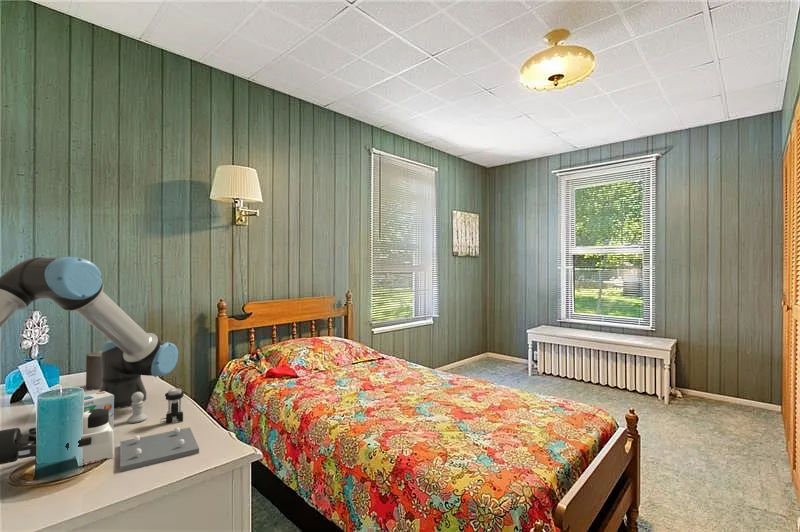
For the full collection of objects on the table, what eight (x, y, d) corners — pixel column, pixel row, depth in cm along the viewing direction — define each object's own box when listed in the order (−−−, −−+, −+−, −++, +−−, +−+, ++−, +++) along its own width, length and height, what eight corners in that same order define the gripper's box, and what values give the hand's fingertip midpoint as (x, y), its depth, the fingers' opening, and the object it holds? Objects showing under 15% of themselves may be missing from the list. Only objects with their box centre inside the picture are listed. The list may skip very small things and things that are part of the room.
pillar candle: (79, 388, 162) (80, 351, 162) (103, 382, 171) (104, 347, 171) (97, 391, 159) (97, 353, 159) (121, 384, 168) (121, 348, 168)
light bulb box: (71, 443, 111) (71, 404, 111) (61, 437, 115) (62, 400, 115) (115, 429, 120) (115, 394, 120) (104, 425, 124) (104, 390, 124)
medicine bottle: (108, 449, 108) (108, 404, 108) (113, 458, 102) (113, 411, 102) (74, 458, 102) (74, 411, 103) (78, 467, 97) (78, 418, 97)
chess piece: (135, 417, 131) (135, 389, 131) (151, 417, 130) (151, 389, 130) (123, 423, 125) (123, 394, 125) (139, 423, 125) (139, 394, 125)
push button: (159, 426, 123) (159, 394, 123) (160, 421, 127) (160, 389, 127) (184, 422, 126) (184, 391, 126) (184, 417, 130) (184, 386, 130)
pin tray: (120, 446, 109) (120, 434, 109) (189, 431, 119) (189, 420, 119) (120, 471, 95) (120, 458, 95) (199, 452, 105) (199, 440, 105)
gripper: (8, 445, 102) (110, 426, 114) (-21, 489, 82) (108, 460, 94) (8, 415, 102) (110, 399, 115) (-20, 452, 82) (108, 428, 94)
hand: (109, 427), depth 104 cm, fingers open, 13 cm apart
